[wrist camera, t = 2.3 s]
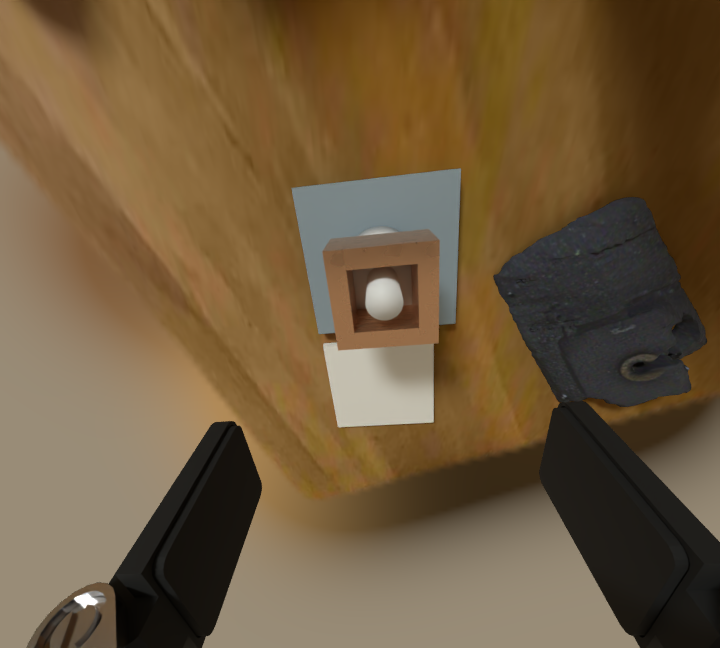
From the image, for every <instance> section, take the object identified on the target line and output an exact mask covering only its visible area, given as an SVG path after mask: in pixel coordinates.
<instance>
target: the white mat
mask: <svg viewBox="0 0 720 648" xmlns="http://www.w3.org/2000/svg"><path fill="white" fill-rule="evenodd" d="M323 348H324V353H325V359H326V364H327V370H328V375H329V380H330V386H331V391H332V397H333V402H334V408H335V413H336V418H337V424H338V427H354V426H373V425H393V424H412V423H432V422H434V344H422V345H408V346H394V347H380V348H366V349H353V350H339V351H338V347H337V343H324V345H323Z"/></svg>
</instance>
